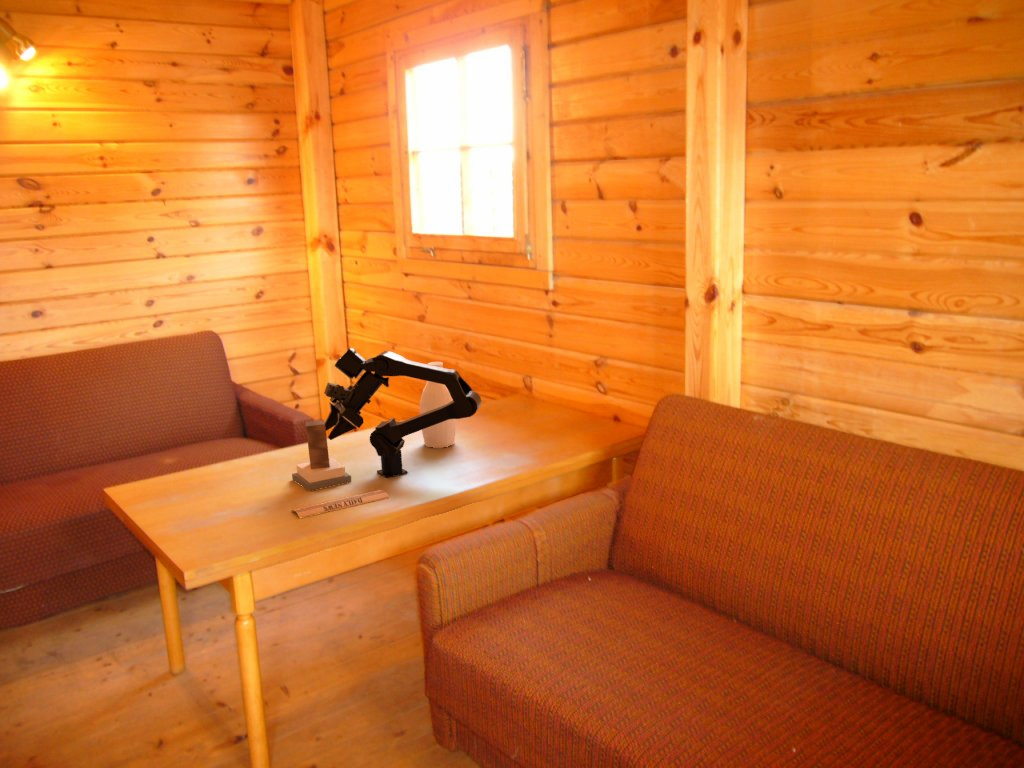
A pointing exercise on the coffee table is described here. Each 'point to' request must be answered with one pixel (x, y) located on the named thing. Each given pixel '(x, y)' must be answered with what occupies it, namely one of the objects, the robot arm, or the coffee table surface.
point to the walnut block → (317, 444)
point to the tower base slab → (322, 483)
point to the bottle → (433, 399)
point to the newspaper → (341, 503)
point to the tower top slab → (321, 471)
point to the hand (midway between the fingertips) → (326, 434)
